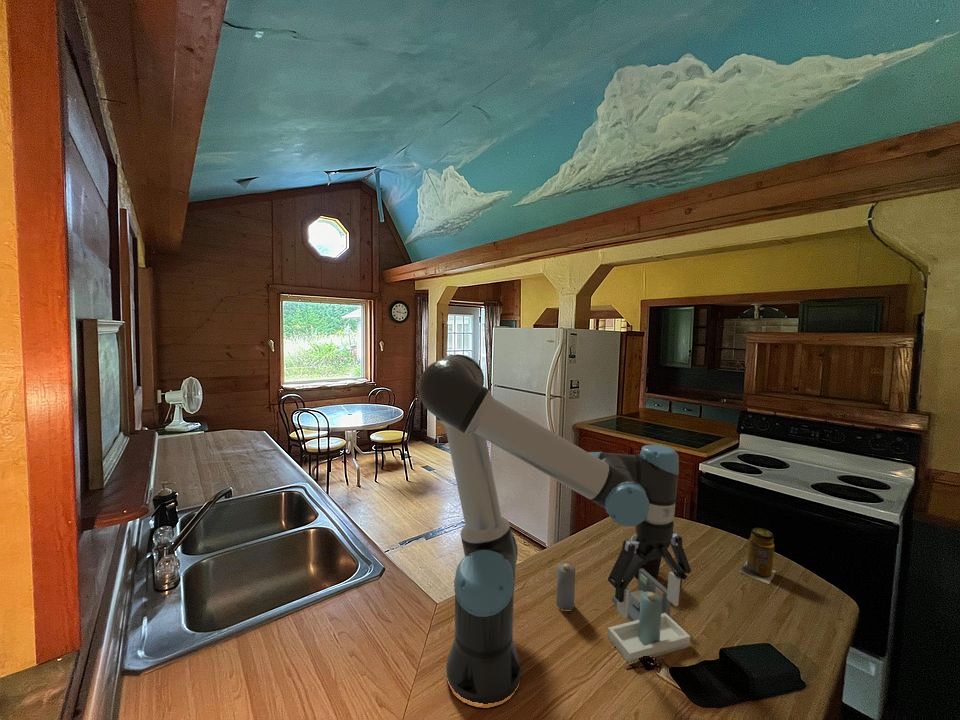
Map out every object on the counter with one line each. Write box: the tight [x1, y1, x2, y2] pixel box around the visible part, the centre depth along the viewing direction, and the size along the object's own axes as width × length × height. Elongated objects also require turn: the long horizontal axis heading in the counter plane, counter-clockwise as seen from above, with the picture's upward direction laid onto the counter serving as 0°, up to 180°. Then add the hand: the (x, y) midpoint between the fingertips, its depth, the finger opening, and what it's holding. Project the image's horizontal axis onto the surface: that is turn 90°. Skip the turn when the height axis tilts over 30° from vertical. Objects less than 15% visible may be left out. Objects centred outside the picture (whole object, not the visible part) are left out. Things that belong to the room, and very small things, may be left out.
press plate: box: [630, 590, 644, 609], centre depth 102 cm, size 4×3×2 cm
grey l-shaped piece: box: [611, 568, 671, 622], centre depth 102 cm, size 9×10×7 cm
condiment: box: [738, 527, 777, 585], centre depth 118 cm, size 7×8×12 cm
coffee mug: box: [630, 534, 663, 581], centre depth 117 cm, size 12×9×10 cm
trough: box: [607, 613, 691, 664], centre depth 92 cm, size 16×8×2 cm, turn 108°
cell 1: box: [555, 562, 576, 611], centre depth 104 cm, size 4×4×11 cm
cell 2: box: [638, 592, 662, 646], centre depth 92 cm, size 4×4×11 cm
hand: (647, 607), depth 92 cm, fingers open, 13 cm apart
